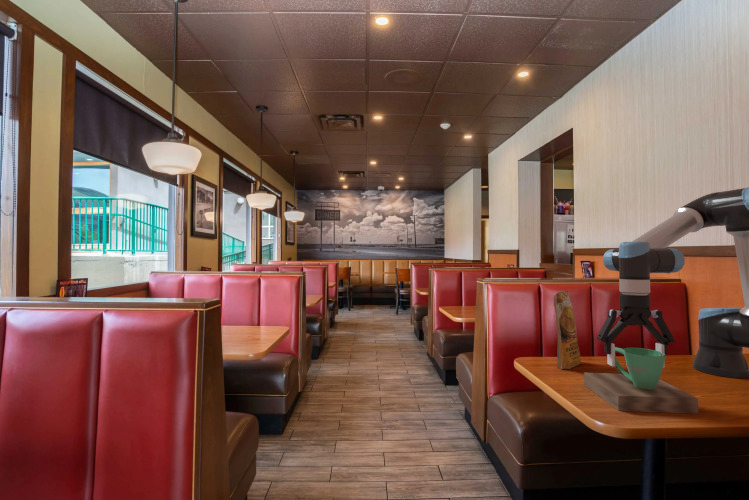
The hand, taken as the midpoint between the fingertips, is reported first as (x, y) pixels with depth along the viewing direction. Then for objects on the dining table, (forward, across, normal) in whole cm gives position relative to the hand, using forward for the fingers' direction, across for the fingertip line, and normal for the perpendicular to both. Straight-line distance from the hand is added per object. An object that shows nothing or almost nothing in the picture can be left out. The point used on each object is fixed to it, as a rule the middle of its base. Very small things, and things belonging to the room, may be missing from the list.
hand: (635, 365), depth 110 cm
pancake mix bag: (+10, +6, -33) cm, 35 cm away
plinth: (+9, 0, 0) cm, 9 cm away
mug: (+6, 0, 0) cm, 6 cm away
